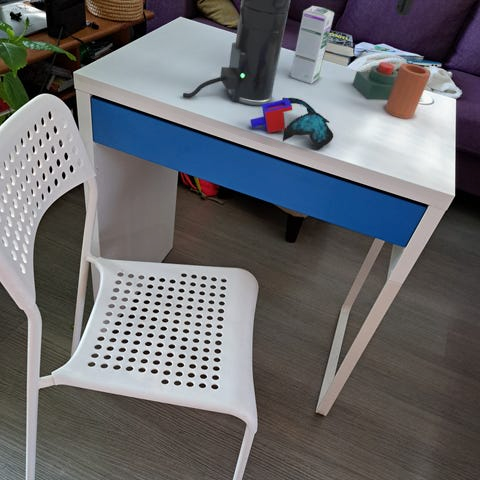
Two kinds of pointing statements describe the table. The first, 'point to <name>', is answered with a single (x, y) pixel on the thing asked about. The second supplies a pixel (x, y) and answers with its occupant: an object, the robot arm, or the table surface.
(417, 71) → the jar
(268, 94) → the robot arm
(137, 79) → the table surface
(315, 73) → the syrup box
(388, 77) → the green button base
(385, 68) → the button
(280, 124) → the toy building block
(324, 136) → the butterfly
